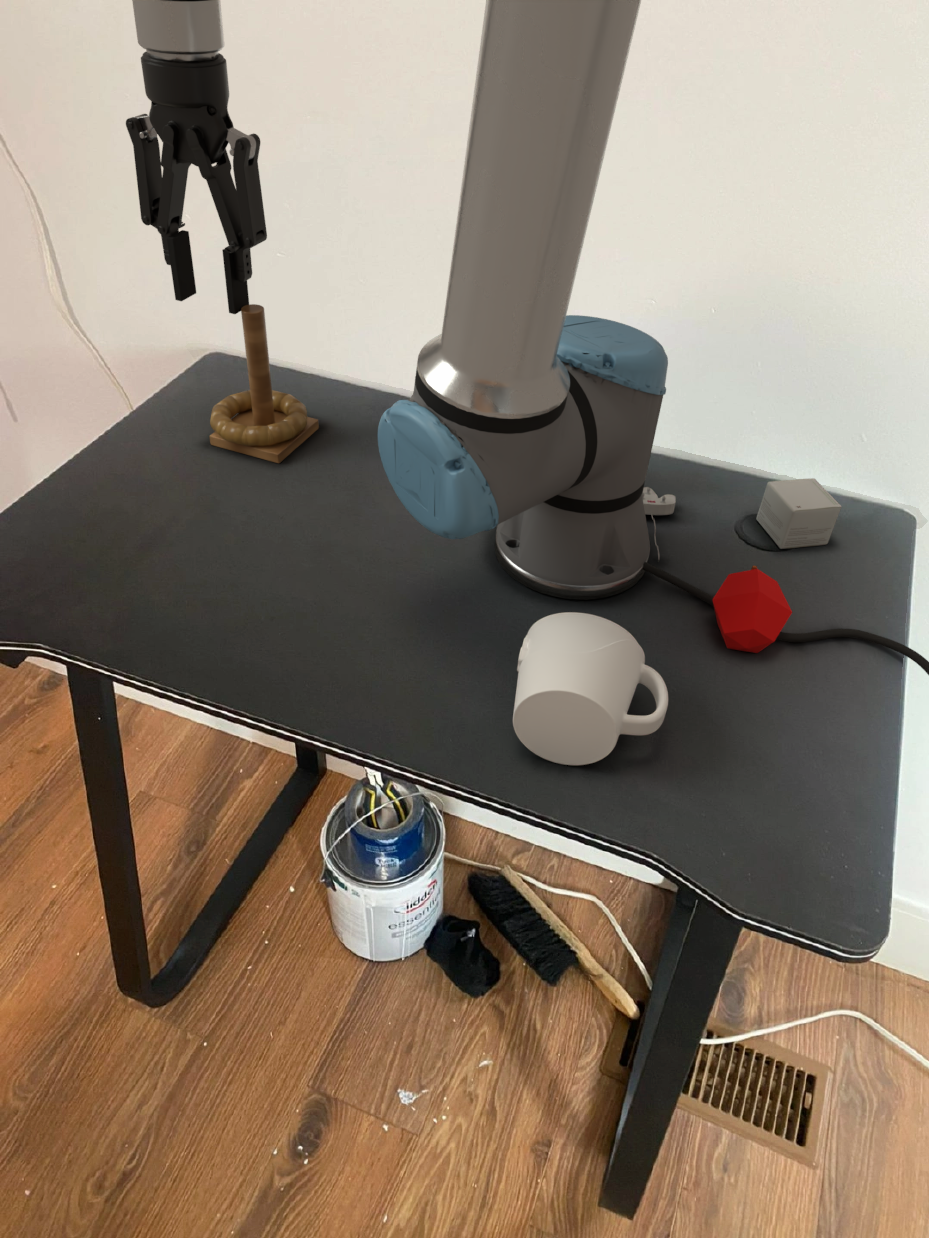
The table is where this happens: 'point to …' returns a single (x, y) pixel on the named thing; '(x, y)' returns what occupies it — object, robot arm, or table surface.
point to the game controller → (657, 505)
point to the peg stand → (261, 393)
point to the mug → (581, 688)
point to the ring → (258, 434)
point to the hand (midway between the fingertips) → (212, 302)
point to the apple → (750, 610)
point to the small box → (798, 513)
